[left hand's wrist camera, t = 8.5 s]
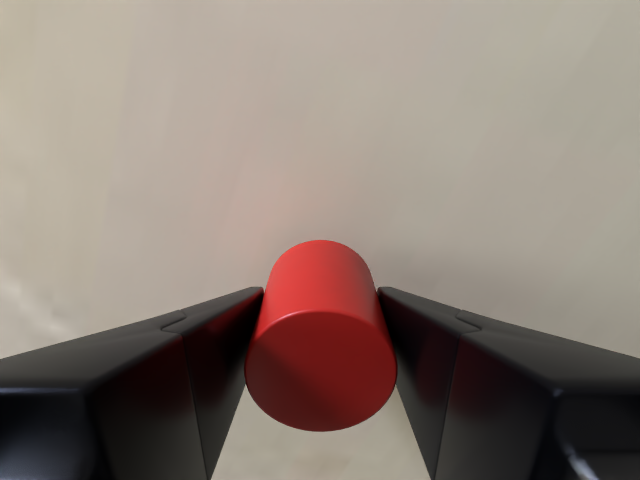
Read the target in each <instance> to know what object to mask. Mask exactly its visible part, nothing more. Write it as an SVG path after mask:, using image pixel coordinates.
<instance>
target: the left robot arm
mask: <svg viewBox="0 0 640 480" xmlns="http://www.w3.org/2000/svg"><path fill="white" fill-rule="evenodd" d="M377 295H378V299H379V302H380V305H381V308H382V312H383V315H384V318H385V321H386V324H387V328H388V331H389V334H390V337H391V341H392V344H393V347H394V350H395V353H396V357H397V363H398V375H397V381H396V386H397V389H398V391H399V394H400V397H401V400H402V402H403V405H404V408H405V410H406V413H407V416H408V419H409V421H410V424H411V427H412V429H413V432H414V435H415V438H416V440H417V443H418V446H419V448H420V451H421V454H422V457H423V459H424V462H425V465H426V468H427V470H428V473H429V476H430V478H431V480H640V358H636V357H632V356H629V355H625V354H621V353H617V352H614V351H610V350H606V349H603V348H599V347H595V346H591V345H588V344H584V343H580V342H577V341H573V340H569V339H565V338H562V337H558V336H554V335H550V334H547V333H543V332H539V331H536V330H532V329H528V328H524V327H521V326H517V325H513V324H510V323H506V322H502V321H499V320H495V319H492V318H488V317H485V316H481V315H478V314H475V313H472V312H468V311H465V310H460V309H457V308H454V307H451V306H448V305H445V304H442V303H439V302H436V301H432V300H429V299H426V298H423V297H420V296H417V295H414V294H411V293H407V292H404V291H401V290H398V289H395V288H392V287H379V288H378V290H377ZM263 296H264V289H263V288H262V287H249V288H246V289H243V290H240V291H237V292H234V293H231V294H228V295H224V296H221V297H218V298H215V299H212V300H209V301H206V302H203V303H200V304H197V305H193V306H190V307H187V308H184V309H181V310H176V311H173V312H170V313H167V314H164V315H160V316H157V317H154V318H150V319H147V320H143V321H140V322H136V323H132V324H129V325H125V326H121V327H118V328H114V329H110V330H106V331H103V332H99V333H95V334H92V335H88V336H84V337H81V338H77V339H73V340H69V341H66V342H62V343H58V344H55V345H51V346H47V347H44V348H40V349H36V350H32V351H29V352H25V353H21V354H18V355H14V356H10V357H7V358H3V359H0V480H211V478H212V475H213V472H214V469H215V467H216V464H217V461H218V458H219V456H220V453H221V450H222V447H223V445H224V442H225V439H226V436H227V434H228V431H229V428H230V425H231V423H232V420H233V417H234V414H235V412H236V409H237V406H238V403H239V401H240V398H241V395H242V392H243V390H244V387H245V384H246V382H245V377H244V361H245V356H246V353H247V350H248V346H249V343H250V340H251V336H252V333H253V330H254V326H255V323H256V320H257V316H258V313H259V310H260V306H261V303H262V300H263Z"/></svg>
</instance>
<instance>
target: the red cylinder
mask: <svg viewBox="0 0 640 480" xmlns="http://www.w3.org/2000/svg"><path fill="white" fill-rule="evenodd" d="M397 375H398V363H397V357H396V353H395V350H394V347H393V344H392V341H391V337H390V334H389V331H388V328H387V324H386V321H385V318H384V315H383V312H382V308H381V305H380V302H379V299H378V295H377V292H376V289H375V286H374V282H373V279H372V276H371V273H370V270H369V268H368V266H367V264H366V263H365V262H364V260H363V259H362V258H361V257H360V256H359V255H358V254H357V253H356V252H355V251H353V250H352V249H350V248H349V247H347V246H345V245H342V244H340V243H337V242H333V241H327V240H315V241H308V242H304V243H301V244H298V245H296V246H294V247H292V248H291V249H289V250H288V251H286V252H285V253H284V254H283V255H282V256H281V257H280V258H279V259H278V260H277V262H276V263H275V265H274V266H273V268H272V271H271V273H270V277H269V280H268V283H267V286H266V290H265V293H264V296H263V300H262V303H261V306H260V310H259V313H258V316H257V320H256V323H255V326H254V330H253V333H252V336H251V340H250V343H249V346H248V350H247V353H246V356H245V361H244V377H245V382H246V385H247V388H248V391H249V393H250V395H251V396H252V398H253V400H254V401H255V402H256V404H257V405H258V406H259V407H260V408H261V409H262V410H263V411H264V412H265V413H266V414H268V415H269V416H270V417H272V418H273V419H275V420H277V421H278V422H280V423H283V424H285V425H287V426H290V427H293V428H296V429H301V430H306V431H316V432H326V431H335V430H341V429H345V428H349V427H352V426H354V425H357V424H359V423H361V422H363V421H365V420H367V419H368V418H370V417H371V416H373V415H374V414H375V413H376V412H378V411H379V410H380V409H381V408H382V407H383V406H384V405H385V403H386V402H387V401H388V399H389V398H390V396H391V394H392V392H393V390H394V387H395V384H396V381H397Z"/></svg>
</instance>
